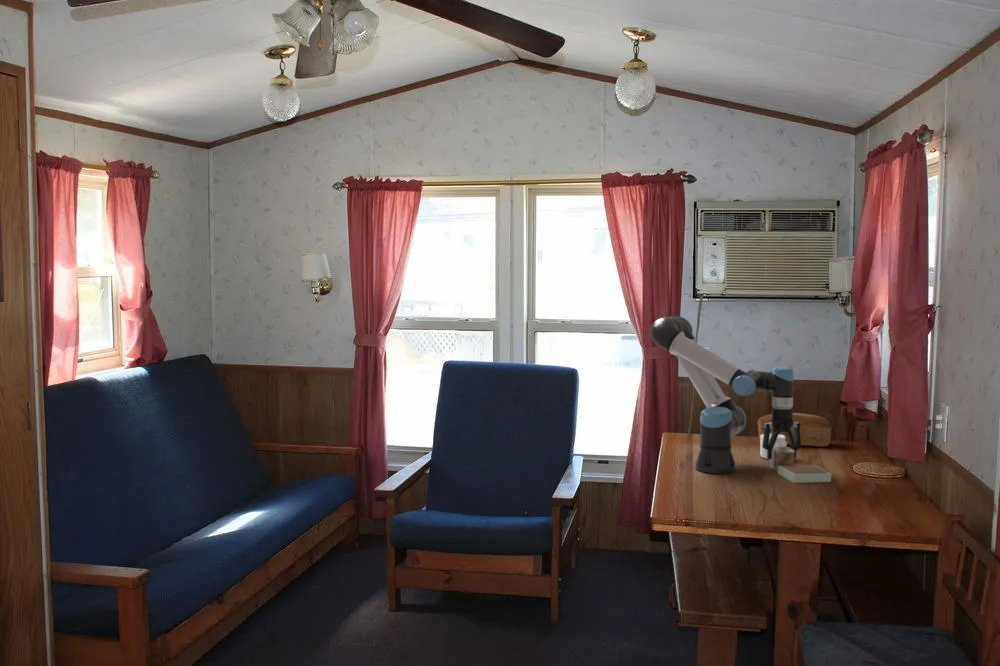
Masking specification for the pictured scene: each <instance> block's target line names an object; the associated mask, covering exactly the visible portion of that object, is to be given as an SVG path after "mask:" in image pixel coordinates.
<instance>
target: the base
mask: <svg viewBox="0 0 1000 666" xmlns="http://www.w3.org/2000/svg"><path fill="white" fill-rule="evenodd" d="M777 474H778V475H779V476H781V477H783V478H784V479H786V480H788V481H790V482H791V483H793V484H797V483H798V484H801V483H803V484H805V483H830V482H832V473H831V472H830V471H829V472H828V471H827V470H825V469H823V468H820V467H819V466H817V465H815V464H794V465H782V466H778V472H777Z"/></svg>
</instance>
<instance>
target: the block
mask: <svg viewBox="0 0 1000 666" xmlns="http://www.w3.org/2000/svg"><path fill="white" fill-rule="evenodd" d="M772 450H773V451H774V468H771V467H770V466H769V465H768V468H769V469H770V470H773V472H776V473H778V466H782V465H795V458H794V453H795V451H794V450H792V448H791V447H788V446H786V447H773V449H772Z"/></svg>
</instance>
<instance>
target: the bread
mask: <svg viewBox="0 0 1000 666" xmlns="http://www.w3.org/2000/svg"><path fill="white" fill-rule="evenodd" d="M792 419H793V422H798V423H800V424H801V425H800V438H801V446H809V447H828V446H829V445H830V440H831V436H832V435H831V434H832V429H833V428H832V426H833V425H832V424H831V422H830V421H829V420H828V419H827V418H825V417H822V416H820V415H815V414H811V413H810V414H807V413H800V412H793V418H792ZM771 421H772V413H770V414H766V415H762V416H761V417H759V418H758V420H757V426H758V427H757V429H758V430H757V431H758V440H759V441H760V436H761V435H762V434H764V431H765V427H764V423H770V422H771ZM773 429H774V427H773V426H771V428H770V434H772V433H773ZM790 429H791V432H792V436H793V439H794V442H795V434H794V427H793V425H792V427H791V428H790ZM779 434H780V435H784V436H785V441H786V442H787V446H788V445H790V443H789V440H788V437H787V435H786V433H785V432H780V433H779ZM795 445H796V444H795Z"/></svg>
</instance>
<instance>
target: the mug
mask: <svg viewBox="0 0 1000 666" xmlns="http://www.w3.org/2000/svg"><path fill="white" fill-rule="evenodd" d="M771 436H772V434H770V436H769V441H770V438H771ZM763 438H764V434H762V435H761V436H760V440H759V443H760V444H759V446H760V447H759V450H760V451H759V453H760V457H762V458H763V459H765V460H766V459H767V460H769V459H768V458H767V449H764V448H763V447H762V445H763ZM768 444H769V443H768ZM774 447H788V444H787V442H786V441H785V436H784V435H780V434H779V435H778V436H777V439H776V442H775V444H774Z"/></svg>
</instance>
